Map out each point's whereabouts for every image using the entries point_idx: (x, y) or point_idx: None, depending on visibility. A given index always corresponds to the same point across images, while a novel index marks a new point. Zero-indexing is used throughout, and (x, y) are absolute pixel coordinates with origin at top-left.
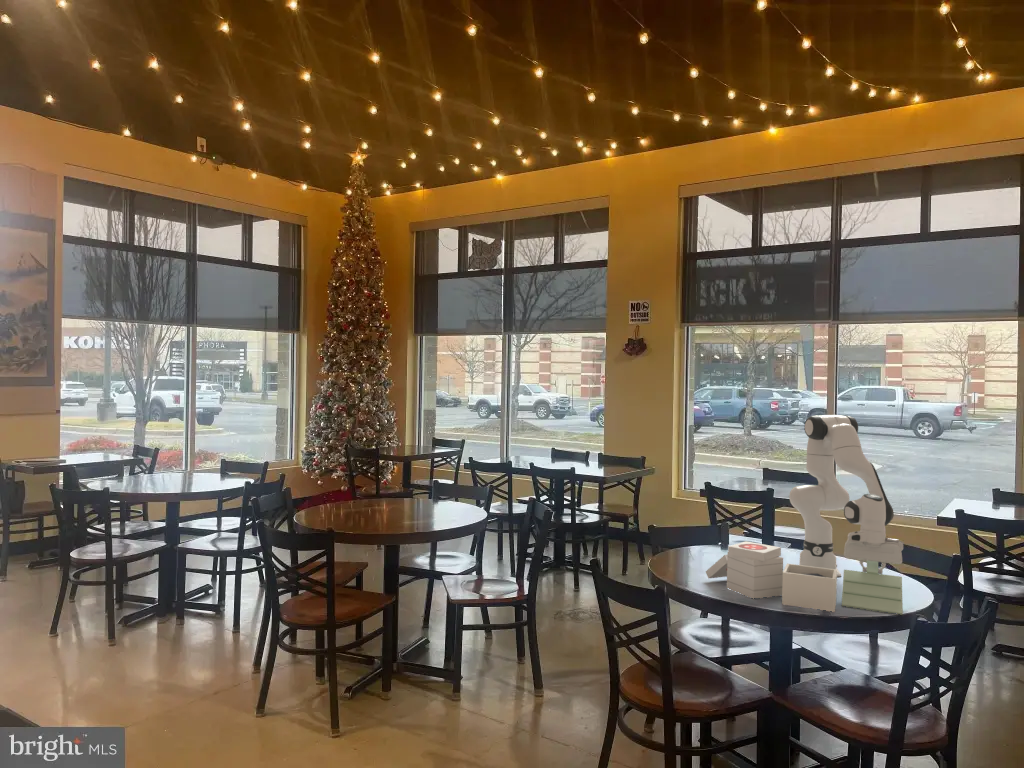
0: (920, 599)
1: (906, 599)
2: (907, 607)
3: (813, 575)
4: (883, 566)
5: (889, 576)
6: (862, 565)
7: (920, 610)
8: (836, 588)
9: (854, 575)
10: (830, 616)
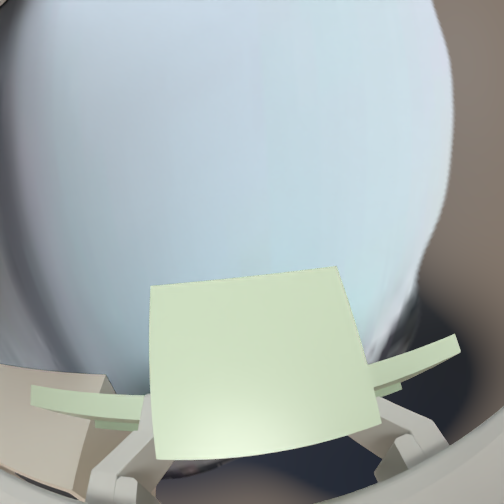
0: (437, 109)
1: (394, 138)
2: (382, 291)
3: (54, 489)
4: (384, 454)
5: (388, 382)
6: (155, 475)
7: (415, 300)
8: (99, 430)
9: (121, 420)
10: (164, 474)
